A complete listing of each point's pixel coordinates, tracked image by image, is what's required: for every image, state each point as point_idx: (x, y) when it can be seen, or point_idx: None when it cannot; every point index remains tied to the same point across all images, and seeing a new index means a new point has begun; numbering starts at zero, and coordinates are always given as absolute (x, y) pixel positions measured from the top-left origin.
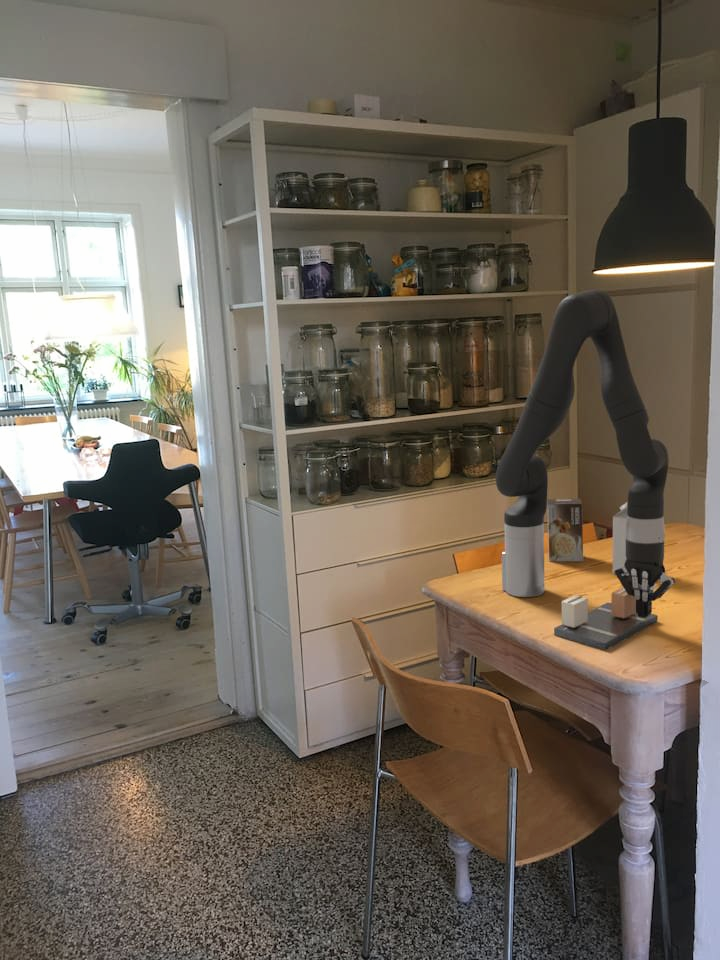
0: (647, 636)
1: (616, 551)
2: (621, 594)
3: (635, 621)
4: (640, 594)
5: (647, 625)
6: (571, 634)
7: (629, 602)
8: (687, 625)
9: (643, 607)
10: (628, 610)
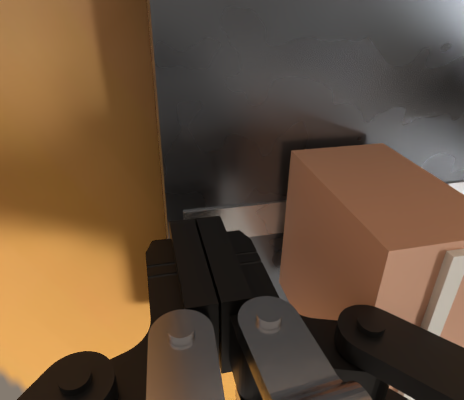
0: (68, 98)
1: None
2: (425, 261)
3: (217, 178)
4: (250, 361)
5: (165, 222)
6: None
7: (326, 269)
8: (37, 365)
9: (183, 267)
10: (302, 222)
